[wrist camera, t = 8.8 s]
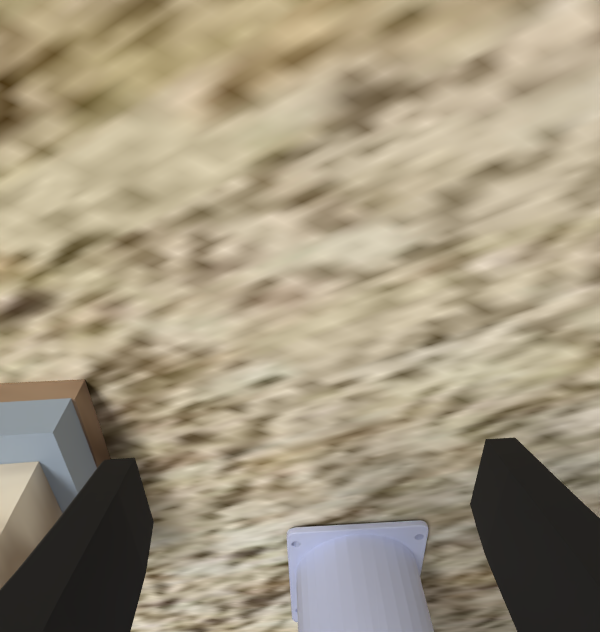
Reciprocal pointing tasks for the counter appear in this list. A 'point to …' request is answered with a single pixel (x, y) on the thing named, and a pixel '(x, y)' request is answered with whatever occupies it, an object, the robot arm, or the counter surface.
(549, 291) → the counter surface
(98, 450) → the walnut slab
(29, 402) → the slate slab
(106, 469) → the robot arm
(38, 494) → the birch block
